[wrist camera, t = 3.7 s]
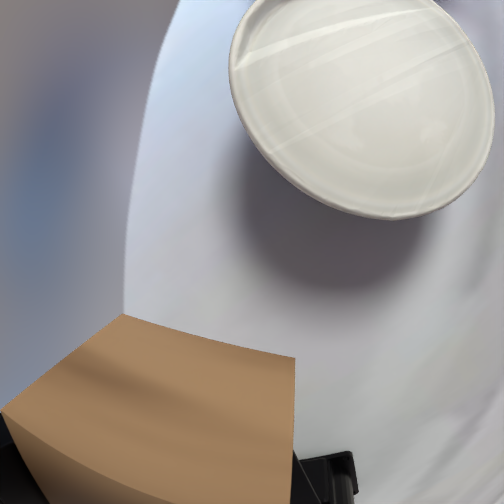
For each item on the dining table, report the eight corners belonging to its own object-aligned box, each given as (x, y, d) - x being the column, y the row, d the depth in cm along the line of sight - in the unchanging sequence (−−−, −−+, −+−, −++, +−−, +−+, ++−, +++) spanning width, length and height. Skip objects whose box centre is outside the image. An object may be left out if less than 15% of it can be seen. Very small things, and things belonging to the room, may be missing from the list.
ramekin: (312, -7, 13) (315, -63, 7) (470, 97, 13) (520, 73, 7) (206, 135, 15) (168, 111, 10) (383, 251, 15) (422, 278, 10)
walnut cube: (258, 466, 9) (236, 584, 4) (127, 428, 9) (63, 521, 4) (294, 358, 8) (287, 526, 3) (122, 313, 8) (0, 410, 3)
